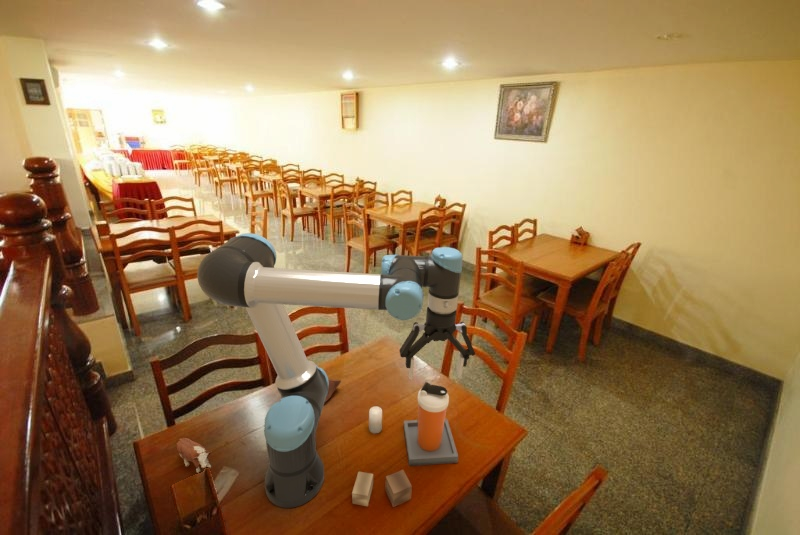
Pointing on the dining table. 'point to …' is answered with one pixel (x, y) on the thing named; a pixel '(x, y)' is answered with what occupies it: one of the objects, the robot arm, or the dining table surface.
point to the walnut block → (398, 488)
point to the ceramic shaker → (375, 419)
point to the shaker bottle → (431, 415)
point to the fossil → (332, 387)
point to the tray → (423, 457)
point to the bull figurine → (193, 453)
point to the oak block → (362, 489)
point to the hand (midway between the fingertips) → (434, 375)
